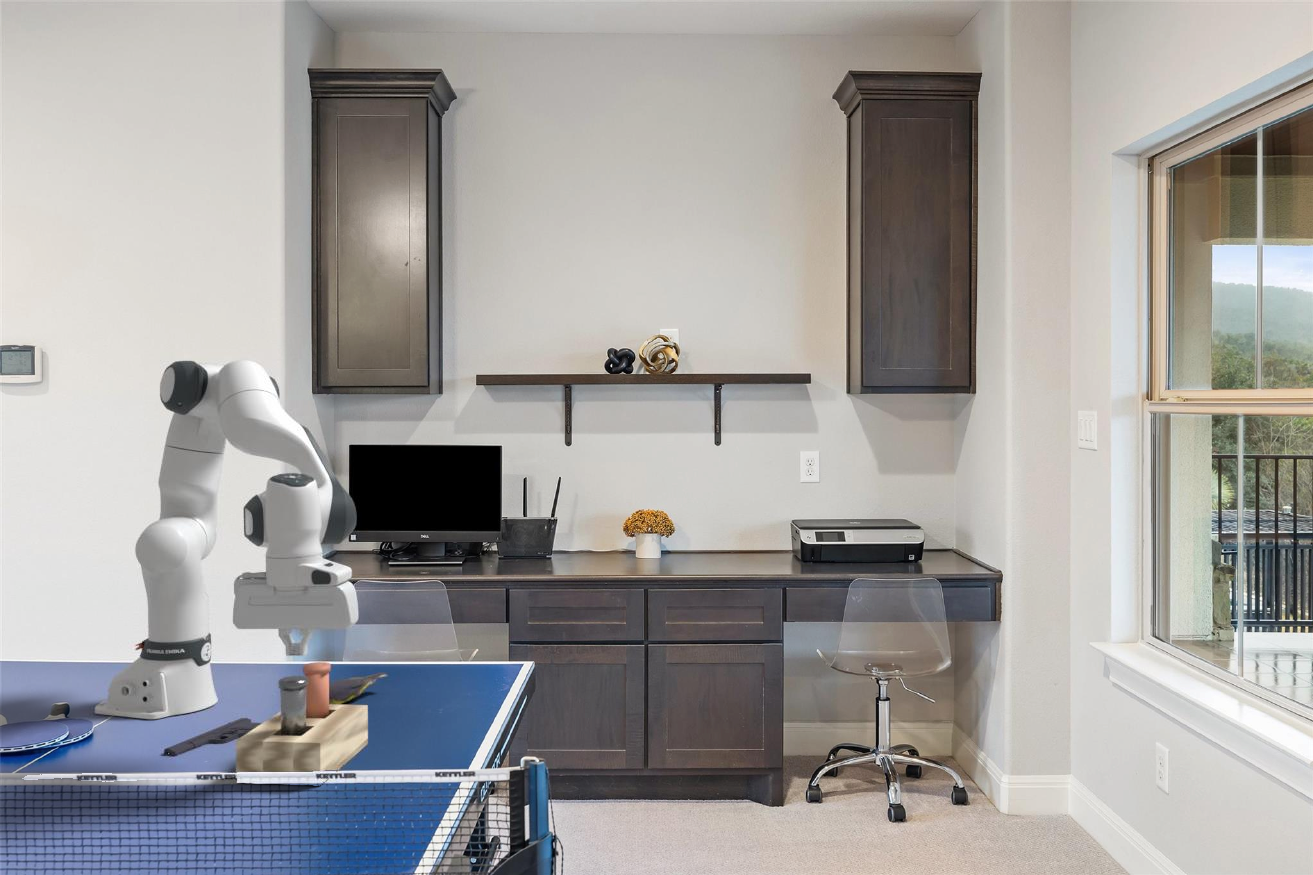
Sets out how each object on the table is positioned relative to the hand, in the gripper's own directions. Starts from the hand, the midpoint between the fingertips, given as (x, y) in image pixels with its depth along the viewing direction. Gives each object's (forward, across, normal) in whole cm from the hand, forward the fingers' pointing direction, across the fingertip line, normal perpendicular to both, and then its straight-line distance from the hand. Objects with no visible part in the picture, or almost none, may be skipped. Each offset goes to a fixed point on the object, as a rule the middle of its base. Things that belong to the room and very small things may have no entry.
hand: (296, 654), depth 157 cm
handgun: (+20, -20, +13) cm, 31 cm away
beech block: (+20, -1, +4) cm, 20 cm away
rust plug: (+14, -1, +9) cm, 17 cm away
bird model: (+20, -7, +38) cm, 44 cm away
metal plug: (+14, -1, 0) cm, 14 cm away
